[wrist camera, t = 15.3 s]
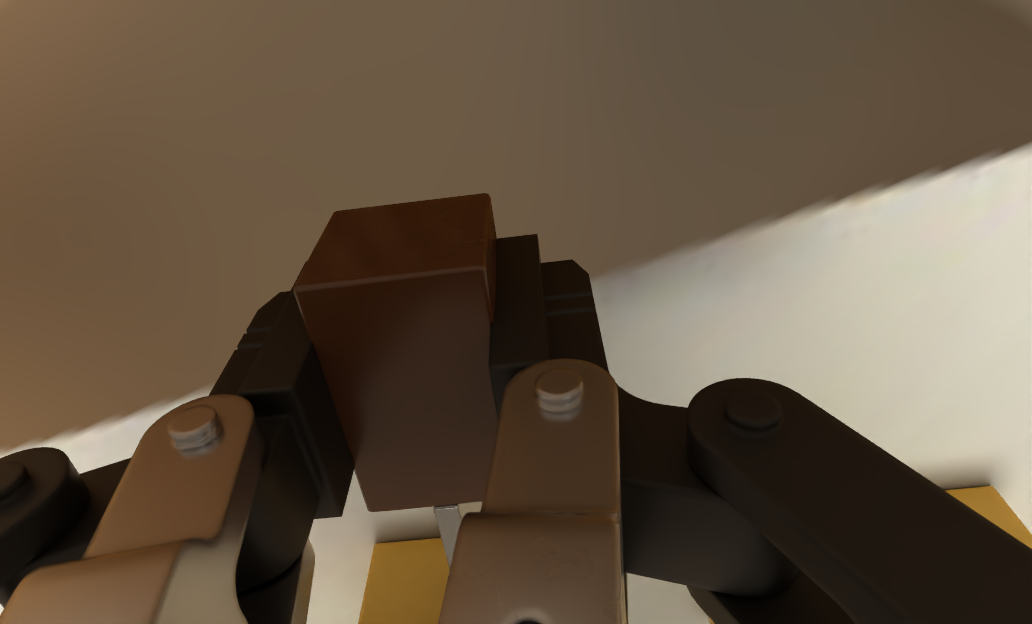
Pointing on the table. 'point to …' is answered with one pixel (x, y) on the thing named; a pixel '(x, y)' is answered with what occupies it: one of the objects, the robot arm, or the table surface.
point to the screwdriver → (409, 349)
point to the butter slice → (405, 583)
